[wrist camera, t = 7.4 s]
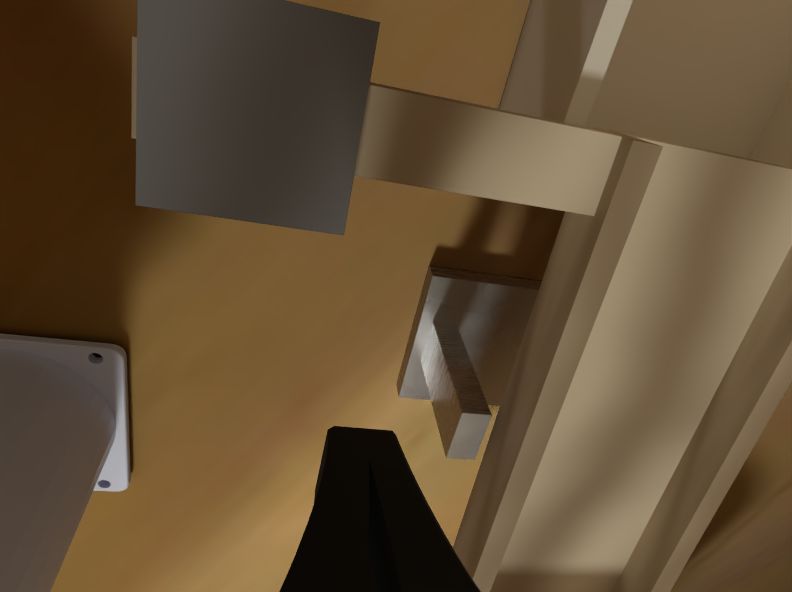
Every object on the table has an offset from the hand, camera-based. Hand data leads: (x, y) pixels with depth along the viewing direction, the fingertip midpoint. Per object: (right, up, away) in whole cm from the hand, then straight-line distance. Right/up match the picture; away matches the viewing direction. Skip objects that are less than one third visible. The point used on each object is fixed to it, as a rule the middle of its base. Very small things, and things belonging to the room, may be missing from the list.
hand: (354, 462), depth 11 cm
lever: (+3, 0, +7) cm, 7 cm away
